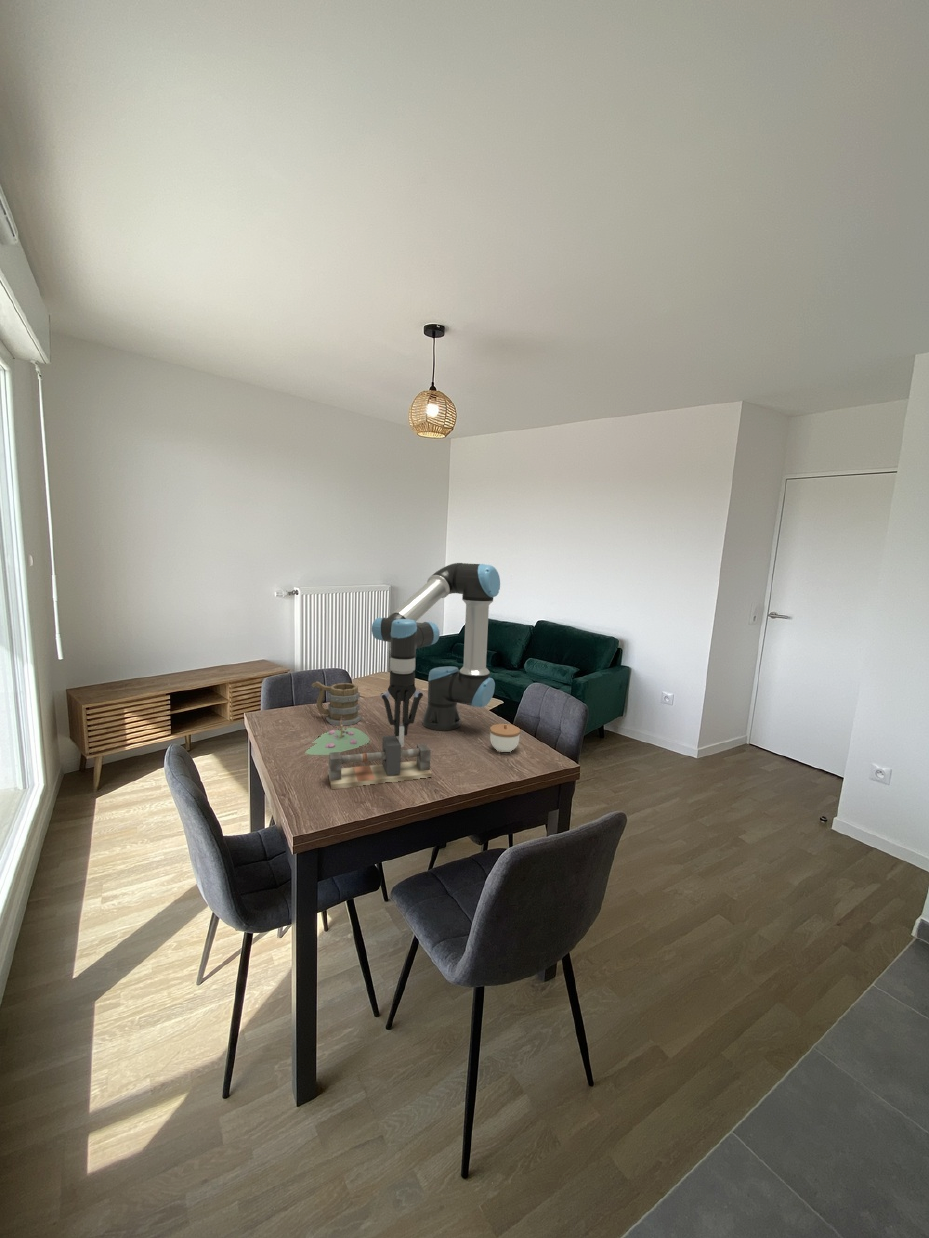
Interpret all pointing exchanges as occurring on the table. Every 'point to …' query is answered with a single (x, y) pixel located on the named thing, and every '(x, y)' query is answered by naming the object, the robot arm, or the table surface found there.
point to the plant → (338, 741)
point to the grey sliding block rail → (377, 768)
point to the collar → (391, 755)
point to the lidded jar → (504, 737)
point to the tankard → (340, 703)
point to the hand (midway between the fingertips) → (400, 745)
